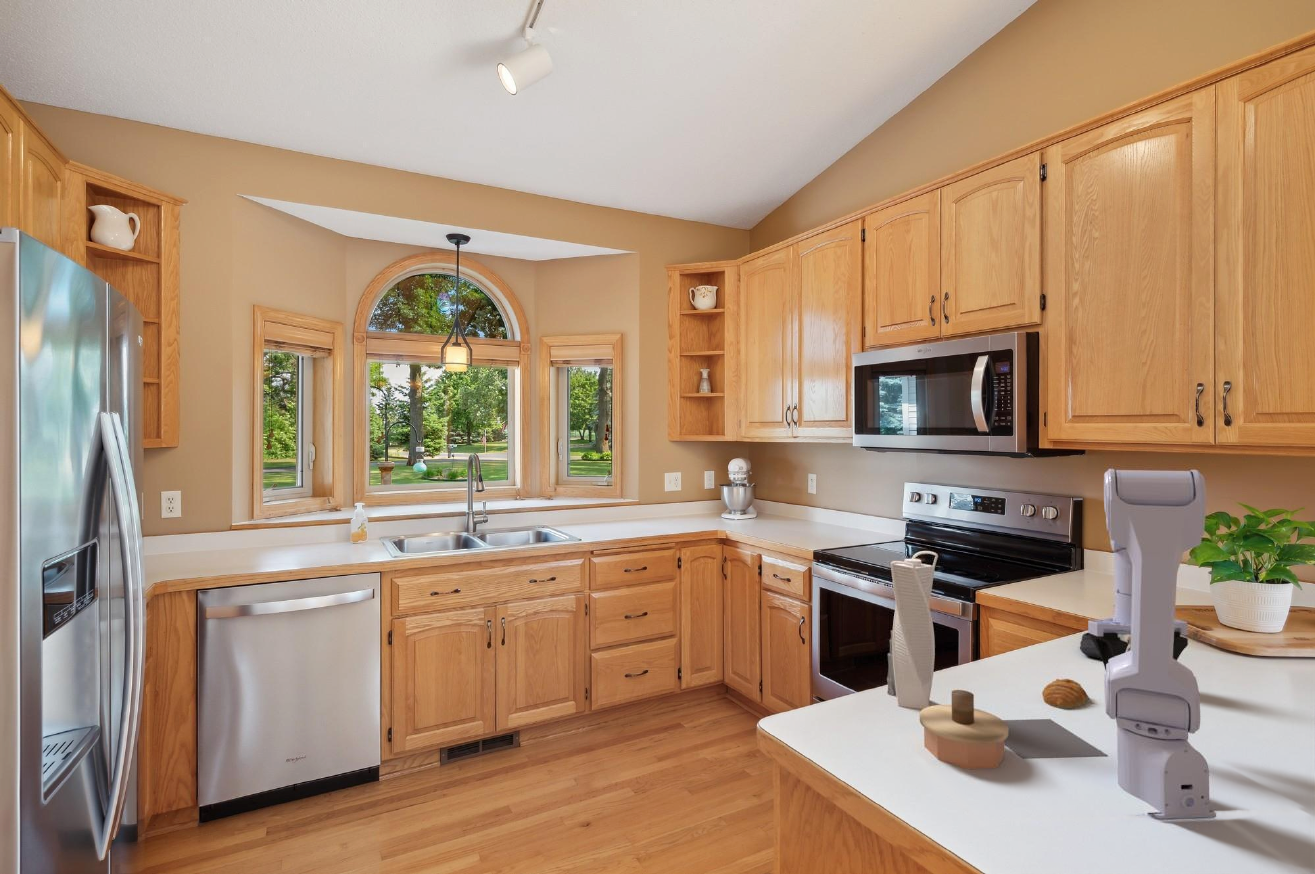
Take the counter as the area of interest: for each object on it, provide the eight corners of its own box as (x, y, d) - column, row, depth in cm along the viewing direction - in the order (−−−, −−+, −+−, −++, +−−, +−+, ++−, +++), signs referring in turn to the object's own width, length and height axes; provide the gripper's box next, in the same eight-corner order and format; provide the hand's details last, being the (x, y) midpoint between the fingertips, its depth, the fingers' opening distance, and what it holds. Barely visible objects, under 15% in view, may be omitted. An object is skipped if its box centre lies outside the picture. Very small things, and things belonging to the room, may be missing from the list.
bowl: (1016, 772, 92) (1016, 740, 92) (947, 774, 91) (947, 742, 91) (978, 740, 102) (977, 711, 102) (915, 742, 101) (915, 713, 101)
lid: (1026, 743, 91) (1025, 709, 91) (941, 744, 91) (940, 709, 91) (982, 709, 103) (981, 679, 103) (906, 709, 103) (906, 679, 103)
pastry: (1079, 718, 111) (1078, 696, 111) (1034, 708, 116) (1034, 686, 116) (1090, 703, 118) (1089, 681, 118) (1047, 693, 122) (1047, 673, 122)
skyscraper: (935, 701, 118) (934, 548, 119) (942, 719, 111) (940, 555, 111) (886, 697, 121) (885, 546, 121) (889, 714, 113) (888, 553, 113)
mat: (1108, 760, 95) (1108, 755, 95) (1022, 763, 95) (1022, 757, 95) (1050, 723, 108) (1050, 718, 108) (974, 725, 108) (974, 720, 108)
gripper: (1160, 586, 105) (1161, 671, 105) (1074, 588, 104) (1075, 673, 104) (1199, 596, 98) (1200, 687, 98) (1106, 598, 97) (1108, 689, 97)
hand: (1138, 681), depth 100 cm, fingers open, 7 cm apart
